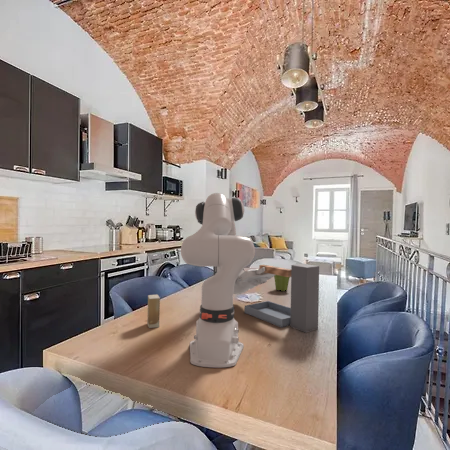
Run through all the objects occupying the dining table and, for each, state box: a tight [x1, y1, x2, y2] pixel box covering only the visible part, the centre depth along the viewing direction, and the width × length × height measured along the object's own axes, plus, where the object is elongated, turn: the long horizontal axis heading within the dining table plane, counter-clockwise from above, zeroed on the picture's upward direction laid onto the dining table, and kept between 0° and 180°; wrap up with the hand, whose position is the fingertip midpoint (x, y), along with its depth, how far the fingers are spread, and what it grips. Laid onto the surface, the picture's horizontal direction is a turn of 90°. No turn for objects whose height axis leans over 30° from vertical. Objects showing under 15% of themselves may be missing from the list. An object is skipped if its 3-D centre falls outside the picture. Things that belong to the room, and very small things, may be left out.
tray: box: [243, 300, 291, 328], centre depth 136 cm, size 24×16×4 cm, turn 37°
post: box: [289, 263, 320, 333], centre depth 122 cm, size 8×8×26 cm
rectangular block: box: [258, 264, 291, 278], centre depth 136 cm, size 18×3×3 cm, turn 37°
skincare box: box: [146, 294, 161, 329], centre depth 122 cm, size 6×4×12 cm
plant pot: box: [273, 275, 291, 292], centre depth 190 cm, size 12×12×11 cm
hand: (268, 268), depth 139 cm, fingers closed on rectangular block, 3 cm apart
